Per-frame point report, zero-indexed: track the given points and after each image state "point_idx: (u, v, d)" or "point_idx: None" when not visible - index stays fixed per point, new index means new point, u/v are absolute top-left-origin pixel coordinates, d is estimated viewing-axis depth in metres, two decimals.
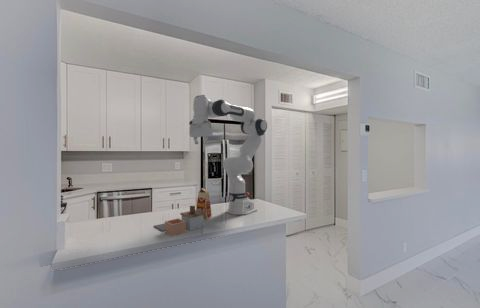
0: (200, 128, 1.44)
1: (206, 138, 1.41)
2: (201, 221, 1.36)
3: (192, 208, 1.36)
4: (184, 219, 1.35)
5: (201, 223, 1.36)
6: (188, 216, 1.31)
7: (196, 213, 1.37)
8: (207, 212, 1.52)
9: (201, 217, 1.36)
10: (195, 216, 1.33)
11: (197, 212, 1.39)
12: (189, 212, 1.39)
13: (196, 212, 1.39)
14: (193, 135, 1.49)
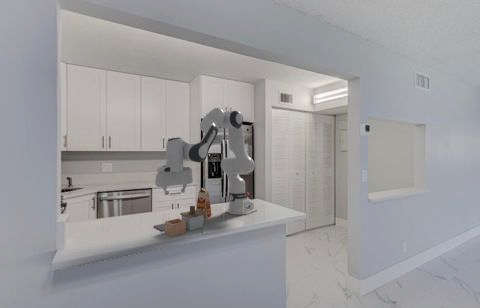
0: (179, 176, 1.27)
1: None
2: (201, 221, 1.36)
3: (192, 208, 1.36)
4: (184, 219, 1.35)
5: (201, 223, 1.36)
6: (188, 216, 1.31)
7: (196, 213, 1.37)
8: (207, 212, 1.52)
9: (201, 217, 1.36)
10: (195, 216, 1.33)
11: (197, 212, 1.39)
12: (189, 212, 1.39)
13: (196, 212, 1.39)
14: (166, 184, 1.22)
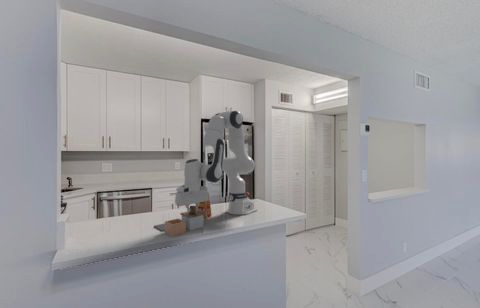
0: (196, 194, 1.37)
1: None
2: (201, 221, 1.36)
3: (192, 208, 1.36)
4: (184, 219, 1.35)
5: (201, 223, 1.36)
6: (188, 216, 1.31)
7: (196, 213, 1.37)
8: (207, 212, 1.52)
9: (201, 217, 1.36)
10: (195, 216, 1.33)
11: (197, 212, 1.39)
12: (189, 212, 1.39)
13: (196, 212, 1.39)
14: (185, 203, 1.32)
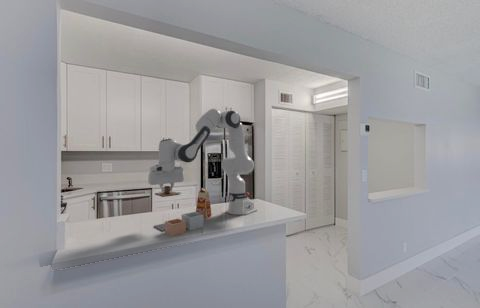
0: (171, 174, 1.36)
1: None
2: (201, 221, 1.36)
3: (166, 188, 1.35)
4: (184, 219, 1.35)
5: (201, 223, 1.36)
6: (161, 195, 1.30)
7: (170, 193, 1.36)
8: (207, 212, 1.52)
9: (201, 217, 1.36)
10: (169, 195, 1.32)
11: (172, 192, 1.38)
12: (164, 192, 1.38)
13: (171, 192, 1.38)
14: (159, 182, 1.31)
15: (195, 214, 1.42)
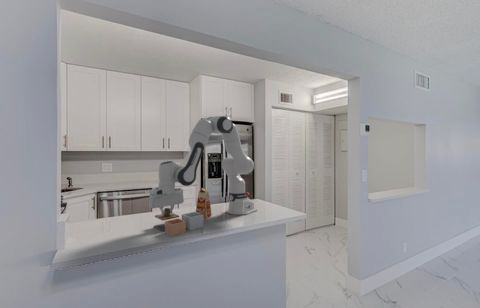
0: (171, 197, 1.37)
1: None
2: (201, 221, 1.36)
3: (166, 210, 1.35)
4: (184, 219, 1.35)
5: (201, 223, 1.36)
6: (161, 218, 1.30)
7: (170, 215, 1.36)
8: (207, 212, 1.52)
9: (201, 217, 1.36)
10: (169, 218, 1.32)
11: (172, 214, 1.38)
12: (164, 214, 1.38)
13: (171, 214, 1.38)
14: (159, 206, 1.31)
15: (195, 214, 1.42)
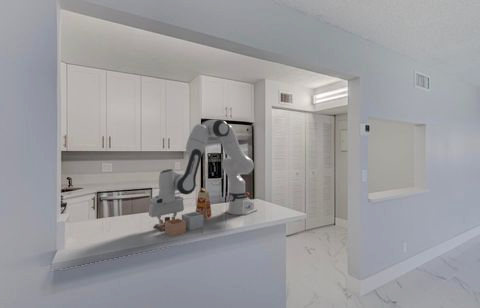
0: (171, 205, 1.37)
1: None
2: (201, 221, 1.36)
3: (167, 219, 1.35)
4: (184, 219, 1.35)
5: (201, 223, 1.36)
6: (162, 228, 1.30)
7: None
8: (207, 212, 1.52)
9: (201, 217, 1.36)
10: None
11: None
12: (164, 223, 1.38)
13: None
14: (159, 214, 1.32)
15: (195, 214, 1.42)
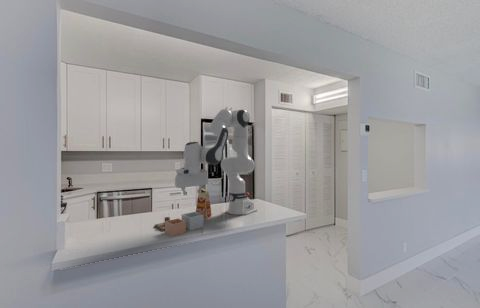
0: (196, 177, 1.37)
1: None
2: (201, 221, 1.36)
3: (167, 219, 1.35)
4: (184, 219, 1.35)
5: (201, 223, 1.36)
6: (162, 228, 1.30)
7: None
8: (207, 212, 1.52)
9: (201, 217, 1.36)
10: None
11: None
12: (164, 223, 1.38)
13: None
14: (185, 185, 1.32)
15: (195, 214, 1.42)
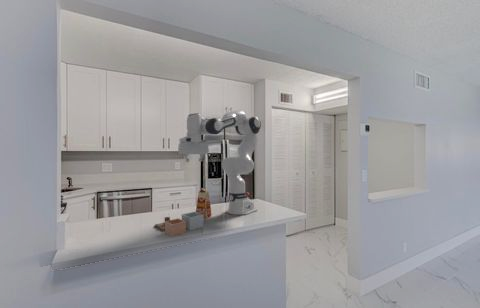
0: (198, 146, 1.48)
1: None
2: (201, 221, 1.36)
3: (167, 219, 1.35)
4: (184, 219, 1.35)
5: (201, 223, 1.36)
6: (162, 228, 1.30)
7: None
8: (207, 212, 1.52)
9: (201, 217, 1.36)
10: None
11: None
12: (164, 223, 1.38)
13: None
14: (187, 152, 1.43)
15: (195, 214, 1.42)
